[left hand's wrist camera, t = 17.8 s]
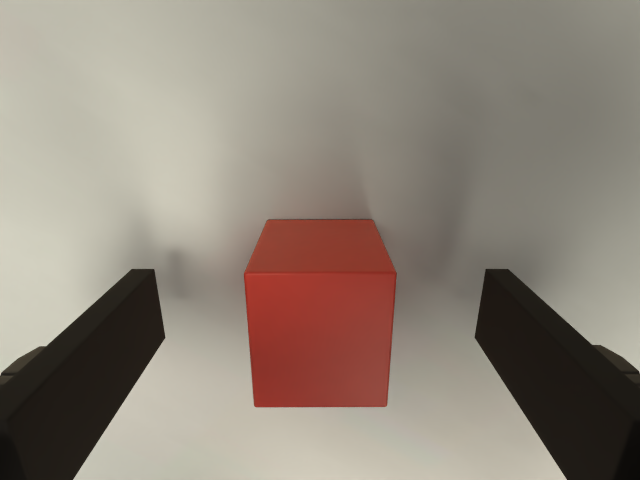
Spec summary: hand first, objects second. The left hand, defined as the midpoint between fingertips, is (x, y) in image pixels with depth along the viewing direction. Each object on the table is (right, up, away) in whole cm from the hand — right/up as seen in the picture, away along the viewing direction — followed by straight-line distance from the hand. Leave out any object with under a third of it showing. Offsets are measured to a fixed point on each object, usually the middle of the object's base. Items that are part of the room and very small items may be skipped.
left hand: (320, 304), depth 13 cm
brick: (0, +1, +2) cm, 3 cm away
